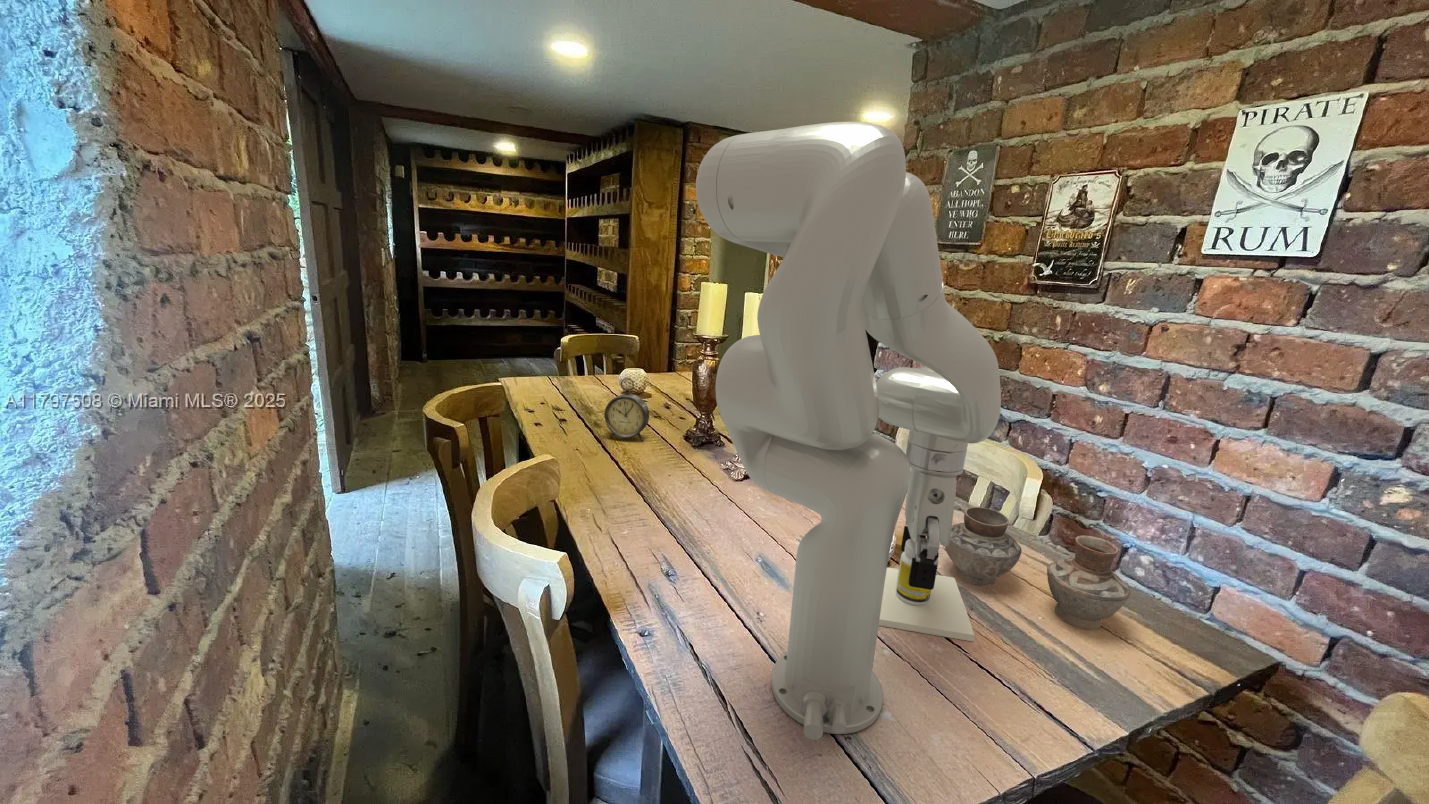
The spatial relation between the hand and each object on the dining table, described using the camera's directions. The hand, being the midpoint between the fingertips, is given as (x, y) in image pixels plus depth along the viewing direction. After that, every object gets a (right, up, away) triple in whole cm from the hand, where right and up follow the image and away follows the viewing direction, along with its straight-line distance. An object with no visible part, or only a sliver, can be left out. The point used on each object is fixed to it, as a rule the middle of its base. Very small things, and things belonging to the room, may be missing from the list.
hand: (915, 568), depth 80 cm
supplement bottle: (0, -5, +2) cm, 5 cm away
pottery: (+18, -6, +5) cm, 20 cm away
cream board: (0, -5, +2) cm, 6 cm away
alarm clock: (-52, +14, +66) cm, 85 cm away
